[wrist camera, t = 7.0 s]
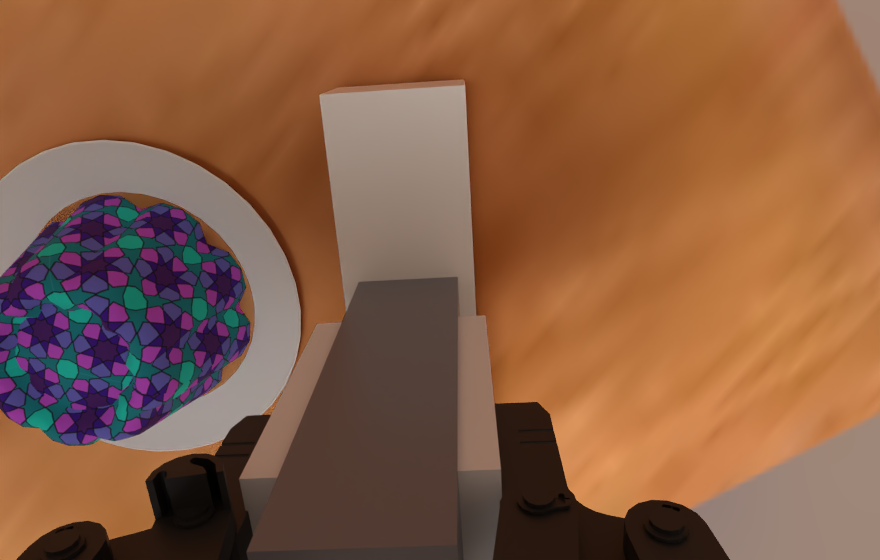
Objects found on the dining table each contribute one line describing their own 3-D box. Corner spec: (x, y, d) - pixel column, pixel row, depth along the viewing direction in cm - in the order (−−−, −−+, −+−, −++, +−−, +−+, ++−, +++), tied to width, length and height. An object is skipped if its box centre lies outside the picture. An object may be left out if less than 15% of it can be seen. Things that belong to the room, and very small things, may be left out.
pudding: (261, 476, 26) (215, 576, 21) (-35, 385, 25) (-155, 468, 20) (346, 206, 22) (313, 253, 17) (-2, 84, 21) (-142, 96, 16)
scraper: (338, 87, 20) (121, 168, 7) (464, 79, 20) (475, 147, 7) (380, 458, 25) (296, 909, 12) (482, 454, 25) (509, 908, 12)
